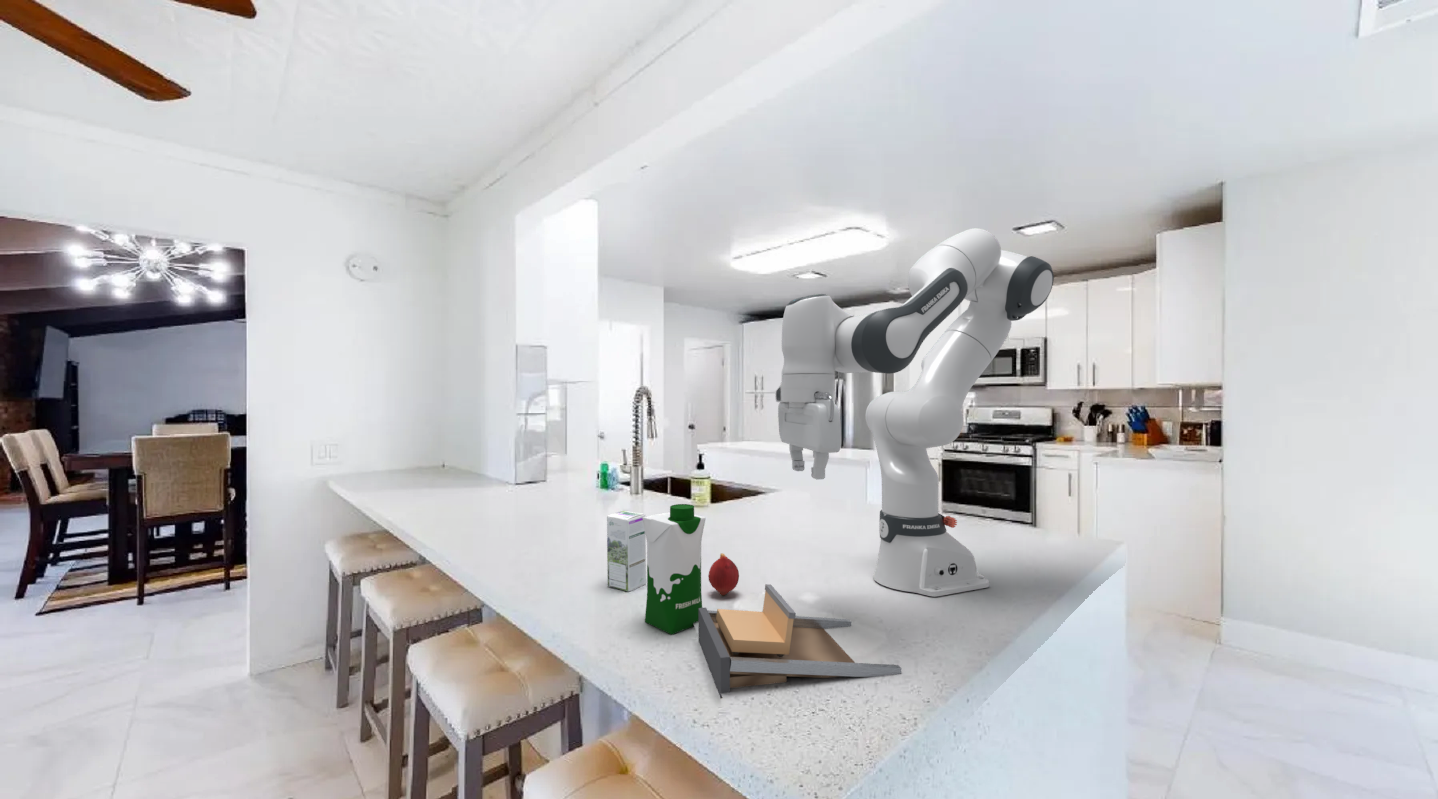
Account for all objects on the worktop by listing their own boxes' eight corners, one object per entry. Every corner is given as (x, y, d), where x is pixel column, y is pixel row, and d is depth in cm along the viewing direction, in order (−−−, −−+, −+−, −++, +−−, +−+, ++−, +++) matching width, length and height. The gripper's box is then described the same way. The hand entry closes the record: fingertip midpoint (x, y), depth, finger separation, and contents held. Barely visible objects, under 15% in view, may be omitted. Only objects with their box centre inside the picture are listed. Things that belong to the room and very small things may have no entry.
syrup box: (647, 584, 116) (647, 512, 116) (627, 592, 111) (627, 518, 111) (625, 579, 119) (625, 509, 119) (605, 587, 114) (605, 514, 114)
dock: (848, 632, 95) (848, 596, 94) (901, 684, 78) (901, 640, 78) (698, 646, 90) (698, 608, 89) (720, 704, 73) (720, 657, 73)
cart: (770, 626, 89) (770, 583, 89) (795, 660, 78) (795, 612, 78) (715, 631, 87) (715, 587, 87) (732, 666, 76) (732, 617, 76)
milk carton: (670, 638, 90) (670, 512, 90) (636, 622, 97) (636, 504, 97) (711, 622, 97) (711, 504, 96) (676, 608, 103) (676, 497, 103)
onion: (739, 590, 112) (739, 549, 112) (737, 601, 107) (737, 558, 106) (710, 589, 113) (710, 548, 113) (706, 599, 107) (706, 557, 107)
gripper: (852, 392, 86) (851, 483, 86) (805, 391, 106) (804, 466, 106) (812, 392, 85) (812, 485, 85) (772, 391, 105) (772, 467, 105)
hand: (807, 474), depth 96 cm, fingers open, 8 cm apart
